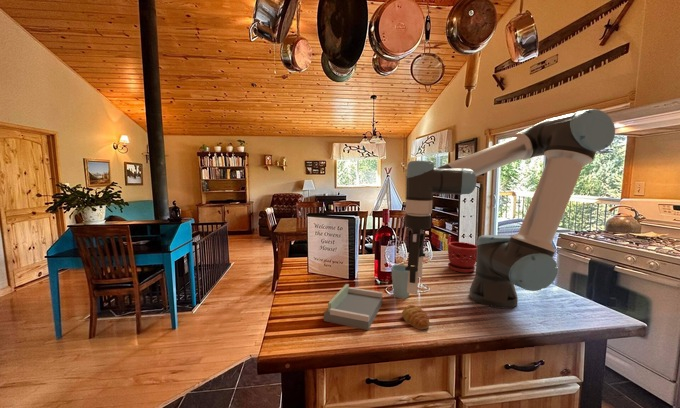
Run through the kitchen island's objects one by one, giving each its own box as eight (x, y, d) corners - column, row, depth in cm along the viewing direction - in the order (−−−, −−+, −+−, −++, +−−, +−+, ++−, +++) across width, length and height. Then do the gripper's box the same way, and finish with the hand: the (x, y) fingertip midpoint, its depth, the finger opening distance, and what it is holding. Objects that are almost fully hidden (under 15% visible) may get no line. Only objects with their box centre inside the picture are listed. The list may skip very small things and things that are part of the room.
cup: (416, 297, 101) (417, 269, 100) (399, 301, 98) (399, 272, 97) (403, 289, 108) (404, 263, 107) (386, 293, 105) (387, 266, 104)
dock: (382, 303, 97) (382, 288, 96) (368, 330, 80) (368, 311, 80) (344, 297, 102) (344, 282, 101) (323, 321, 85) (323, 303, 85)
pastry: (436, 329, 81) (436, 316, 81) (415, 333, 79) (416, 320, 79) (418, 313, 90) (418, 302, 90) (399, 317, 88) (399, 305, 88)
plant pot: (465, 276, 123) (466, 249, 121) (441, 267, 134) (442, 243, 133) (483, 271, 129) (485, 245, 128) (459, 263, 140) (460, 240, 139)
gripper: (410, 208, 95) (408, 269, 97) (397, 219, 72) (394, 298, 74) (434, 210, 92) (430, 272, 94) (428, 221, 69) (424, 304, 71)
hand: (415, 284), depth 84 cm, fingers open, 13 cm apart
